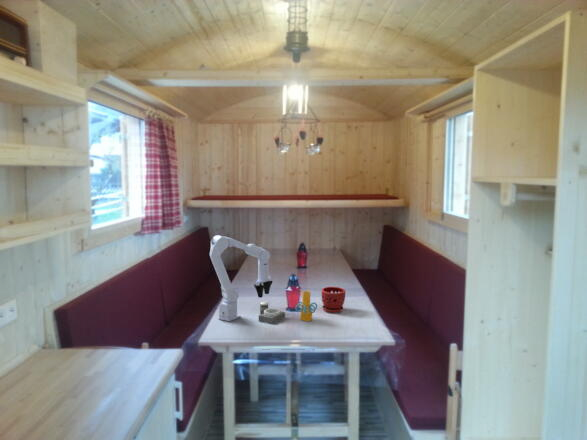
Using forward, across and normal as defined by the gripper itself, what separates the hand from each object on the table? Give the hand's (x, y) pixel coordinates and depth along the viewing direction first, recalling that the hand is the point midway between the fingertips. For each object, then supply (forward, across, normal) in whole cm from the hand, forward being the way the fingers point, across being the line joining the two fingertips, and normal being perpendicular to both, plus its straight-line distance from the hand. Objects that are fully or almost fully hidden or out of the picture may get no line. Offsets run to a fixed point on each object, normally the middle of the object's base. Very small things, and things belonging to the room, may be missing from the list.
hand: (263, 295), depth 237 cm
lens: (+10, -2, -1) cm, 10 cm away
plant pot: (+10, +18, -34) cm, 40 cm away
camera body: (+9, -9, -9) cm, 16 cm away
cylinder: (+10, -2, -26) cm, 28 cm away
